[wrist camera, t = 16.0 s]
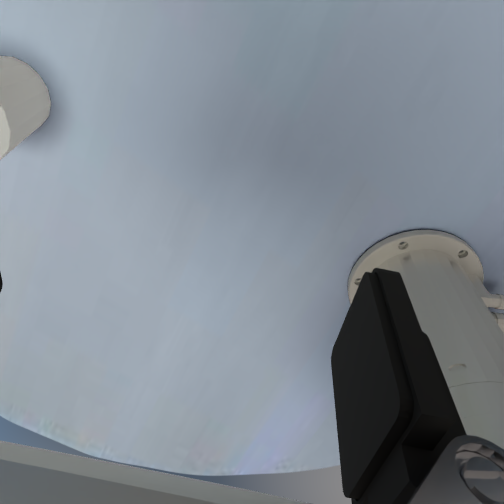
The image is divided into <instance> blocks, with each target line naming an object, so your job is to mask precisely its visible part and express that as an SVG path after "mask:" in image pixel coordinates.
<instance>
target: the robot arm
mask: <svg viewBox="0 0 504 504" xmlns="http://www.w3.org/2000/svg"><path fill="white" fill-rule="evenodd" d="M483 279H484V274H483V267H482V264H481V262H480V260H479V258H478V256H477V255H476V253H475V252H474V251H473V249H472V248H471V247H470V246H469V245H468V244H467V243H466V242H465V241H463V240H461V239H459V238H458V237H456V236H454V235H451V234H448V233H445V232H441V231H434V230H414V231H408V232H403V233H400V234H397V235H394V236H391V237H388V238H386V239H384V240H382V241H380V242H378V243H377V244H375V245H374V246H373V247H371V248H370V249H368V250H367V251H366V252H365V253H364V254H363V255H362V256H361V257H360V258H359V259H358V261H357V262H356V264H355V265H354V267H353V269H352V271H351V274H350V276H349V281H348V296H349V300H350V304H351V306H350V308H349V311H348V313H347V316H346V318H345V320H344V323H343V325H342V328H341V330H340V333H339V335H338V338H337V340H336V342H335V345H334V347H333V351H332V356H331V365H332V376H333V387H334V398H335V409H336V420H337V431H338V442H339V453H340V463H341V474H342V484H343V492H344V495H345V497H347V498H351V499H352V504H504V314H503V313H496V312H490V311H489V309H488V307H492V308H495V309H501V310H504V295H500V294H496V295H495V294H490V293H489V292H488V291H487V290H486V288H485V287H484V285H483ZM1 289H2V277H1V273H0V292H1ZM0 504H311V503H306V502H302V501H297V500H292V499H288V498H283V497H279V496H274V495H269V494H265V493H260V492H256V491H251V490H247V489H242V488H237V487H232V486H227V485H222V484H216V483H212V482H206V481H202V480H197V479H192V478H187V477H182V476H177V475H172V474H167V473H162V472H157V471H152V470H147V469H142V468H137V467H132V466H127V465H122V464H117V463H112V462H107V461H102V460H97V459H92V458H87V457H82V456H77V455H71V454H66V453H61V452H56V451H51V450H46V449H40V448H35V447H30V446H25V445H20V444H15V443H10V442H5V441H0Z"/></svg>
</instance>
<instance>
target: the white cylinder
mask: <svg viewBox="0 0 504 504" xmlns="http://www.w3.org/2000/svg"><path fill="white" fill-rule="evenodd" d="M50 107H51V101H50V96H49V92H48V89H47V87H46V85H45V83H44V82H43V80H42V78H41V77H40V75H39V74H38V73H37V72H36V71H35V70H33V69H32V68H31V67H30V66H29V65H28V64H27V63H25V62H23V61H21V60H19V59H16V58H14V57H9V56H0V160H1V159H2V158H3V157H5V156H6V155H7V154H8V153H9V152H10V151H12V150H13V149H14V148H15V147H16V146H17V145H19V144H20V143H21V142H22V141H23V140H25V139H26V138H27V137H28V136H29V135H30V134H32V133H33V132H34V131H35V130H36V129H37V128H39V127H40V126H41V125H42V124H43V123H44V122H45V120H46V119H47V118H48V117H49V113H50Z"/></svg>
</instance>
